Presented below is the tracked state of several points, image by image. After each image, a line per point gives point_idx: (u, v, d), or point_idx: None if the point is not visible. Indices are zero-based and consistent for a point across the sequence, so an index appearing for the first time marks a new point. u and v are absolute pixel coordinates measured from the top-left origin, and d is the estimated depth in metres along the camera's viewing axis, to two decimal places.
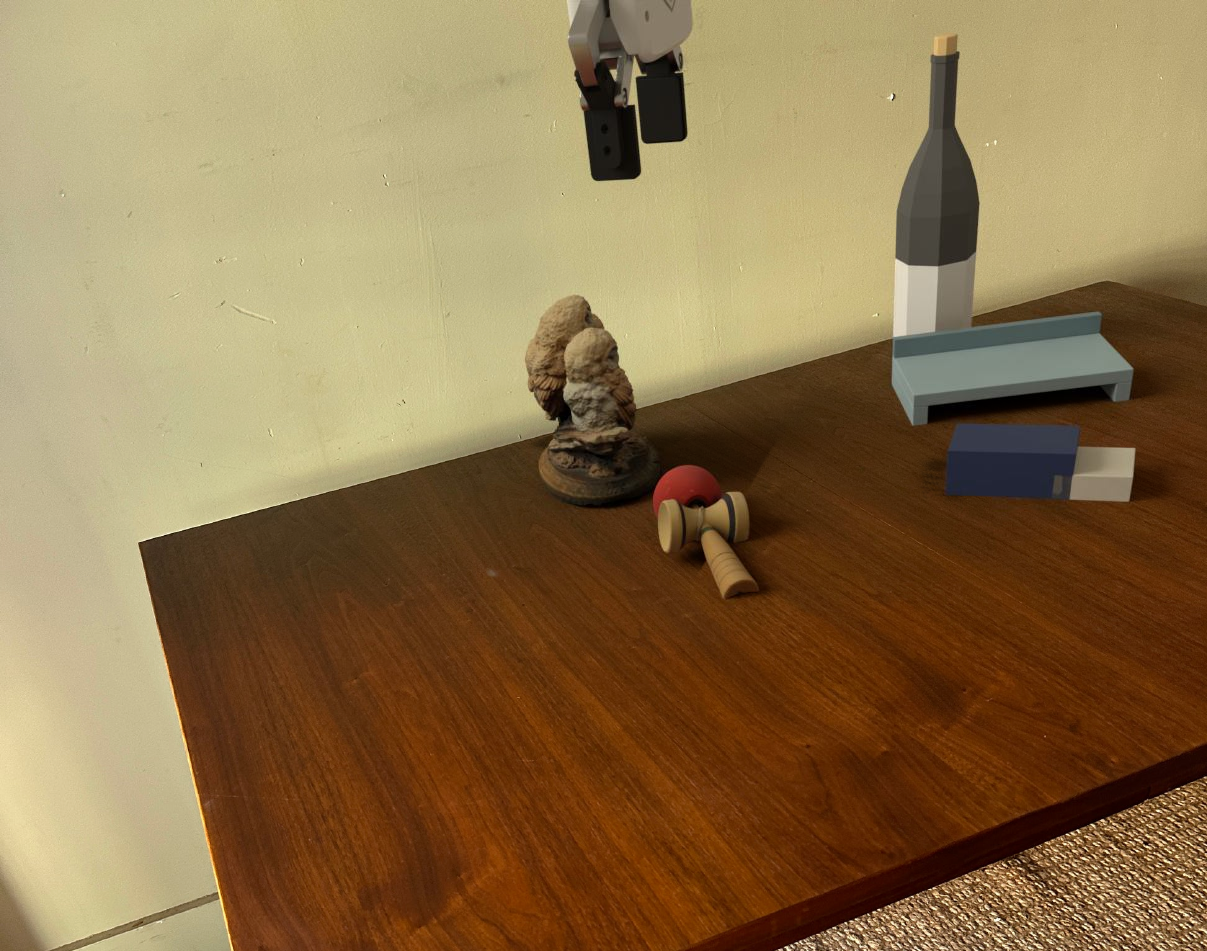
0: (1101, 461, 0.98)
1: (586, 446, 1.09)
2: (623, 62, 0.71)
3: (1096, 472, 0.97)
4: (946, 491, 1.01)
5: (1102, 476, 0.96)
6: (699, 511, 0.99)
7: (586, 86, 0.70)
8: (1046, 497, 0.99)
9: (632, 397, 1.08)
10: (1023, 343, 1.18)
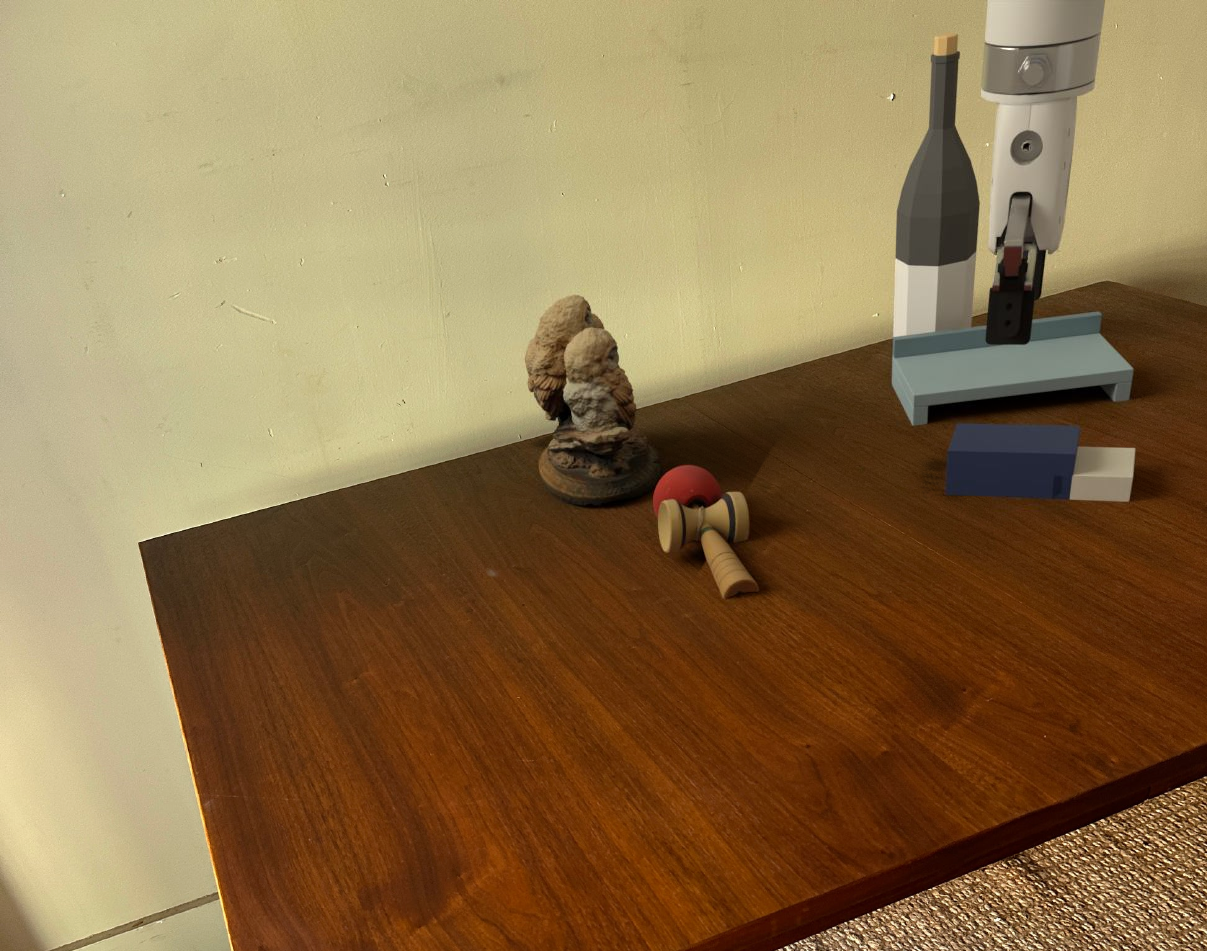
0: (1101, 461, 0.98)
1: (586, 446, 1.09)
2: (1033, 255, 0.86)
3: (1096, 472, 0.97)
4: (946, 491, 1.01)
5: (1102, 476, 0.96)
6: (699, 511, 0.99)
7: (1006, 276, 0.85)
8: (1046, 497, 0.99)
9: (632, 397, 1.08)
10: None
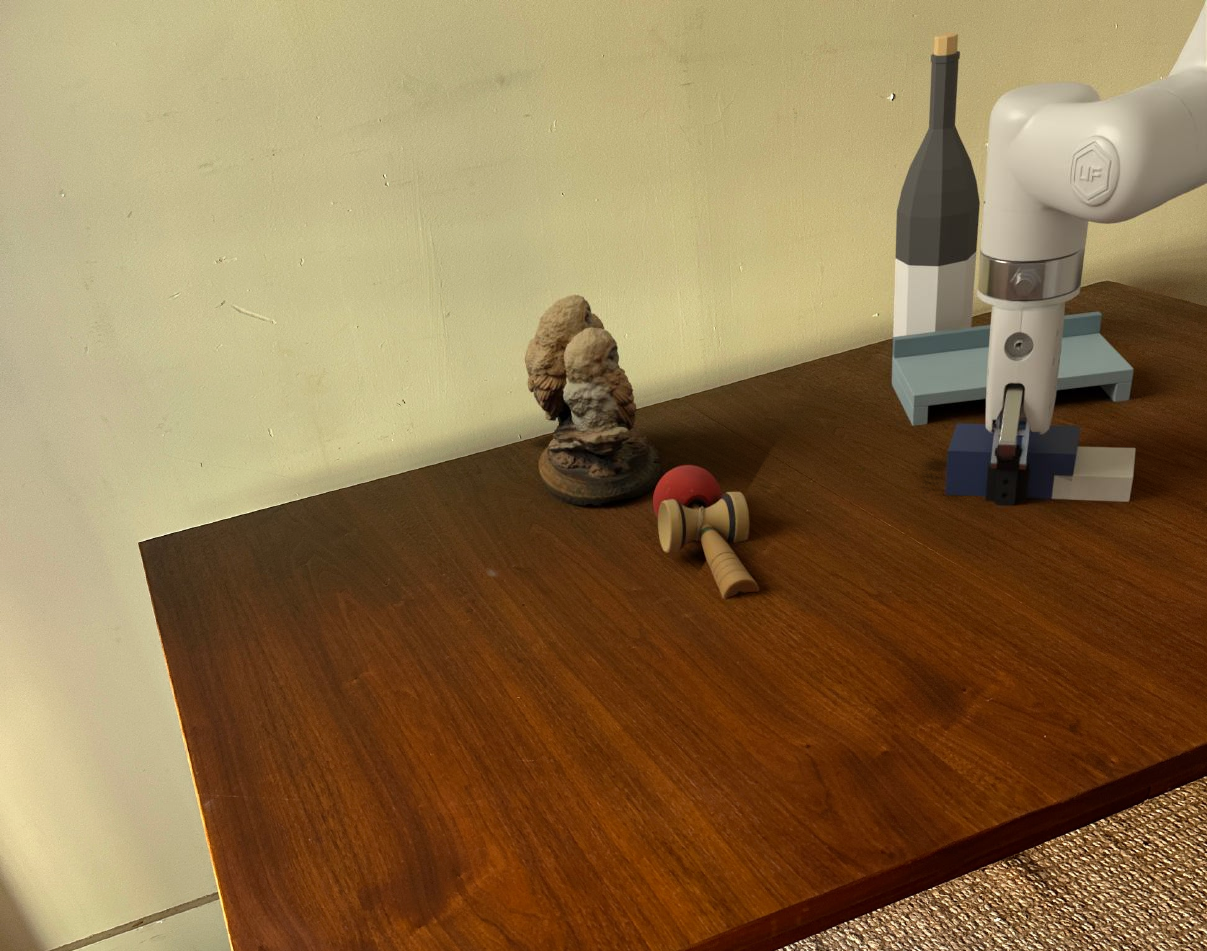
0: (1101, 461, 0.98)
1: (586, 446, 1.09)
2: (1026, 441, 0.95)
3: (1096, 472, 0.97)
4: (946, 491, 1.01)
5: (1102, 476, 0.96)
6: (699, 511, 0.99)
7: (1003, 459, 0.95)
8: (1046, 497, 0.99)
9: (632, 397, 1.08)
10: None
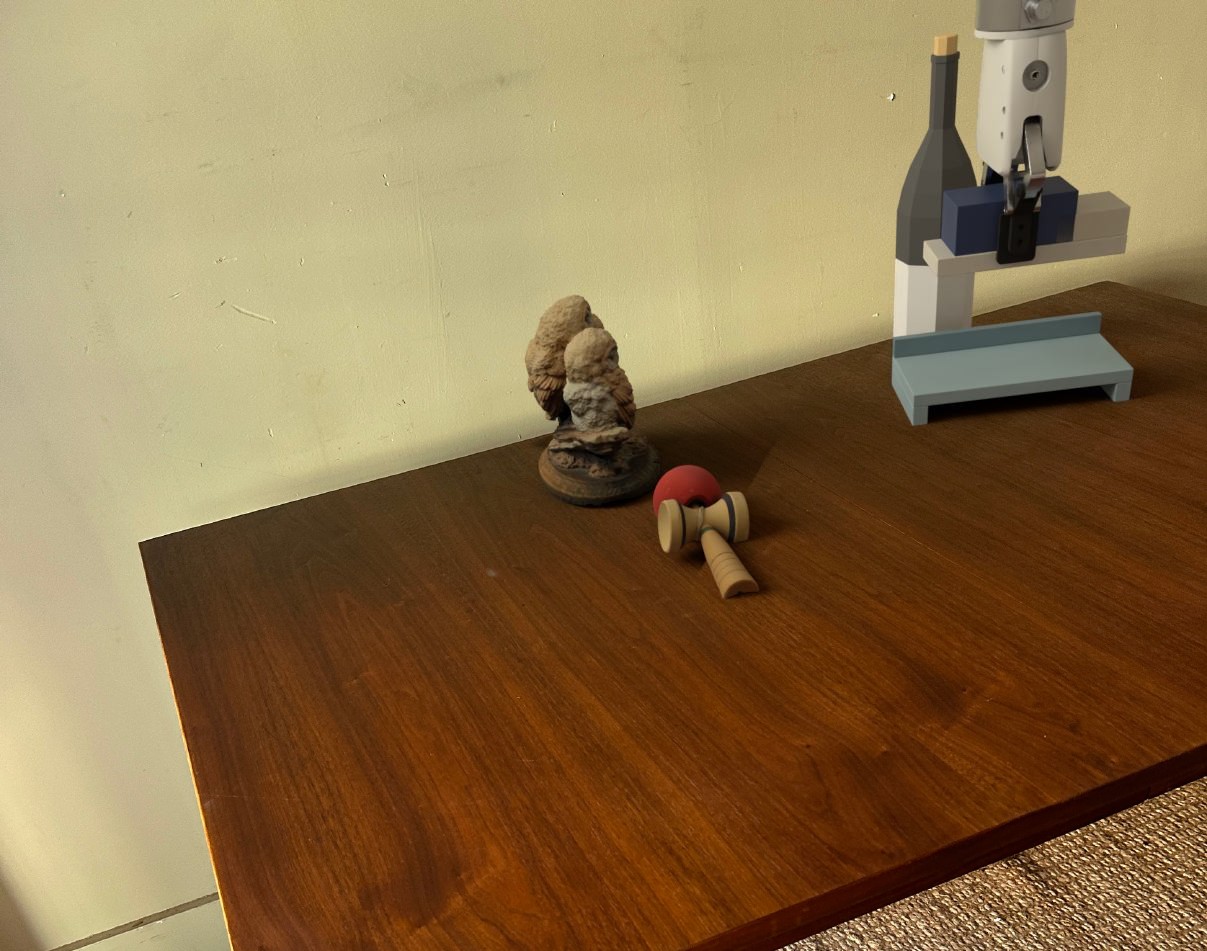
0: (1090, 202, 1.03)
1: (586, 446, 1.09)
2: None
3: (1094, 209, 1.01)
4: (956, 252, 1.03)
5: (1102, 210, 1.01)
6: (699, 511, 0.99)
7: (1024, 199, 0.98)
8: (1051, 242, 1.02)
9: (632, 397, 1.08)
10: (1023, 343, 1.18)
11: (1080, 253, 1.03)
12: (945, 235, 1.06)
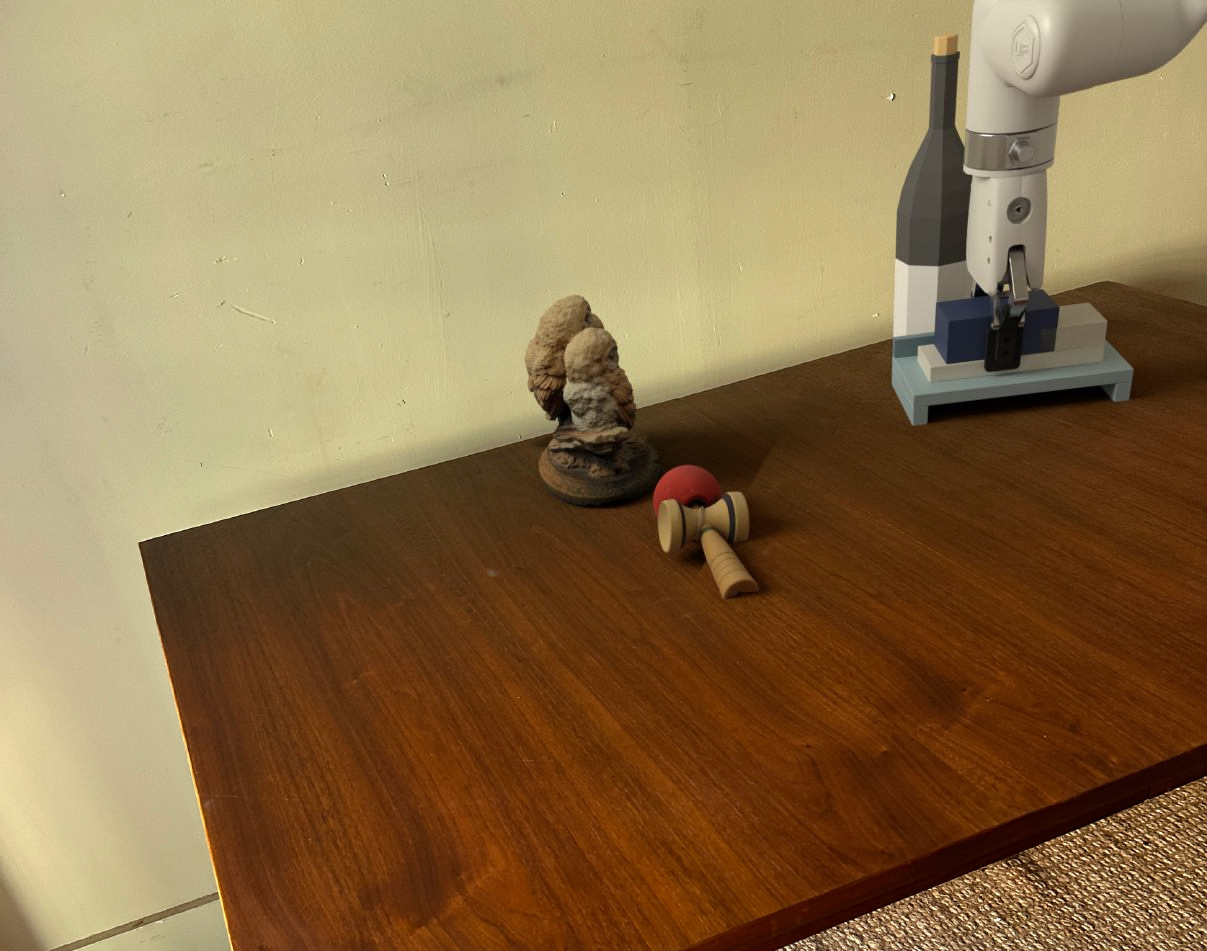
0: (1071, 314, 1.12)
1: (586, 446, 1.09)
2: None
3: (1074, 322, 1.10)
4: (947, 360, 1.12)
5: (1081, 324, 1.10)
6: (699, 511, 0.99)
7: (1009, 317, 1.07)
8: (1034, 351, 1.11)
9: (632, 397, 1.08)
10: None
11: (1061, 361, 1.12)
12: (937, 342, 1.15)
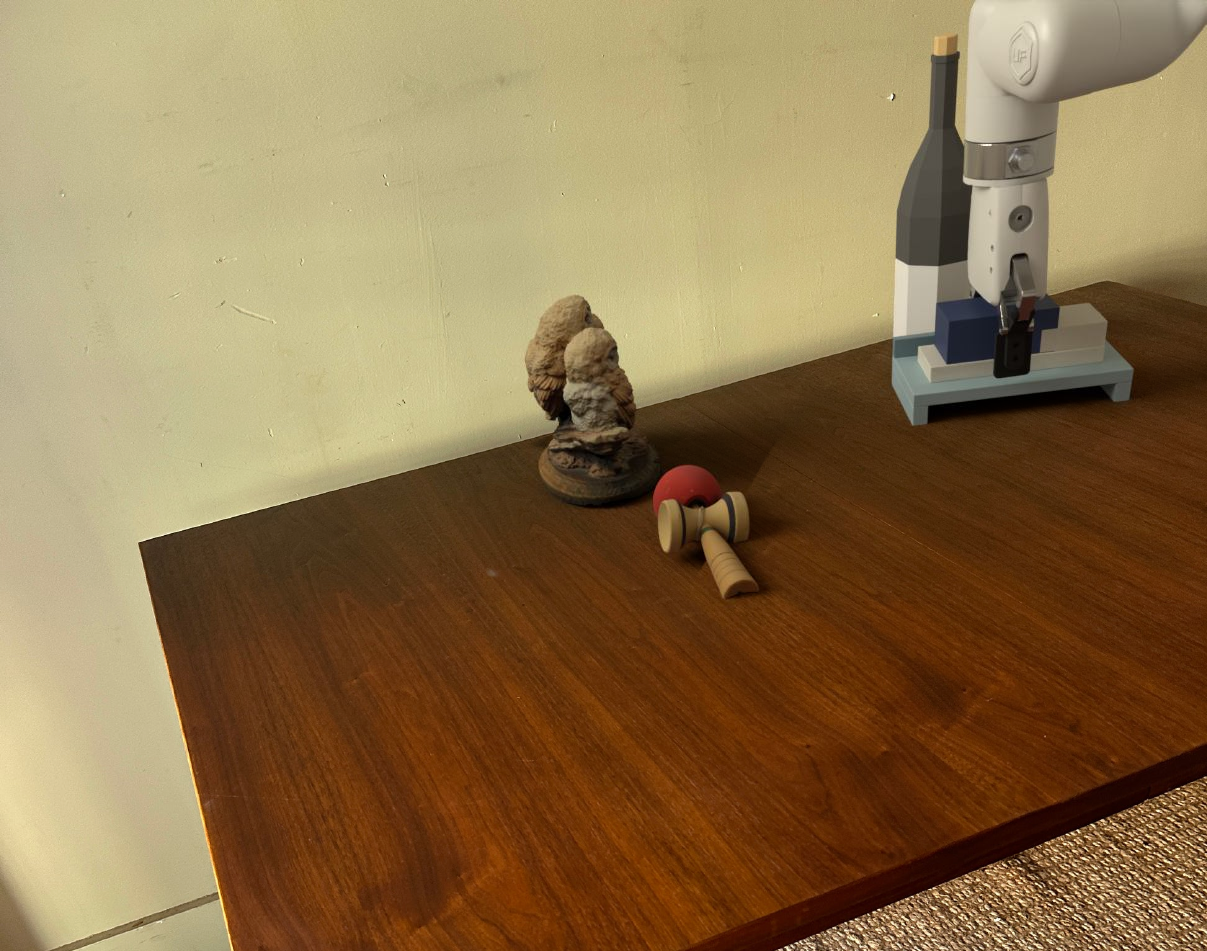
0: (1071, 315, 1.12)
1: (586, 446, 1.09)
2: None
3: (1075, 323, 1.10)
4: (947, 360, 1.12)
5: (1082, 324, 1.10)
6: (699, 511, 0.99)
7: (1018, 321, 1.04)
8: (1035, 352, 1.11)
9: (632, 397, 1.08)
10: None
11: (1061, 362, 1.12)
12: (938, 343, 1.15)
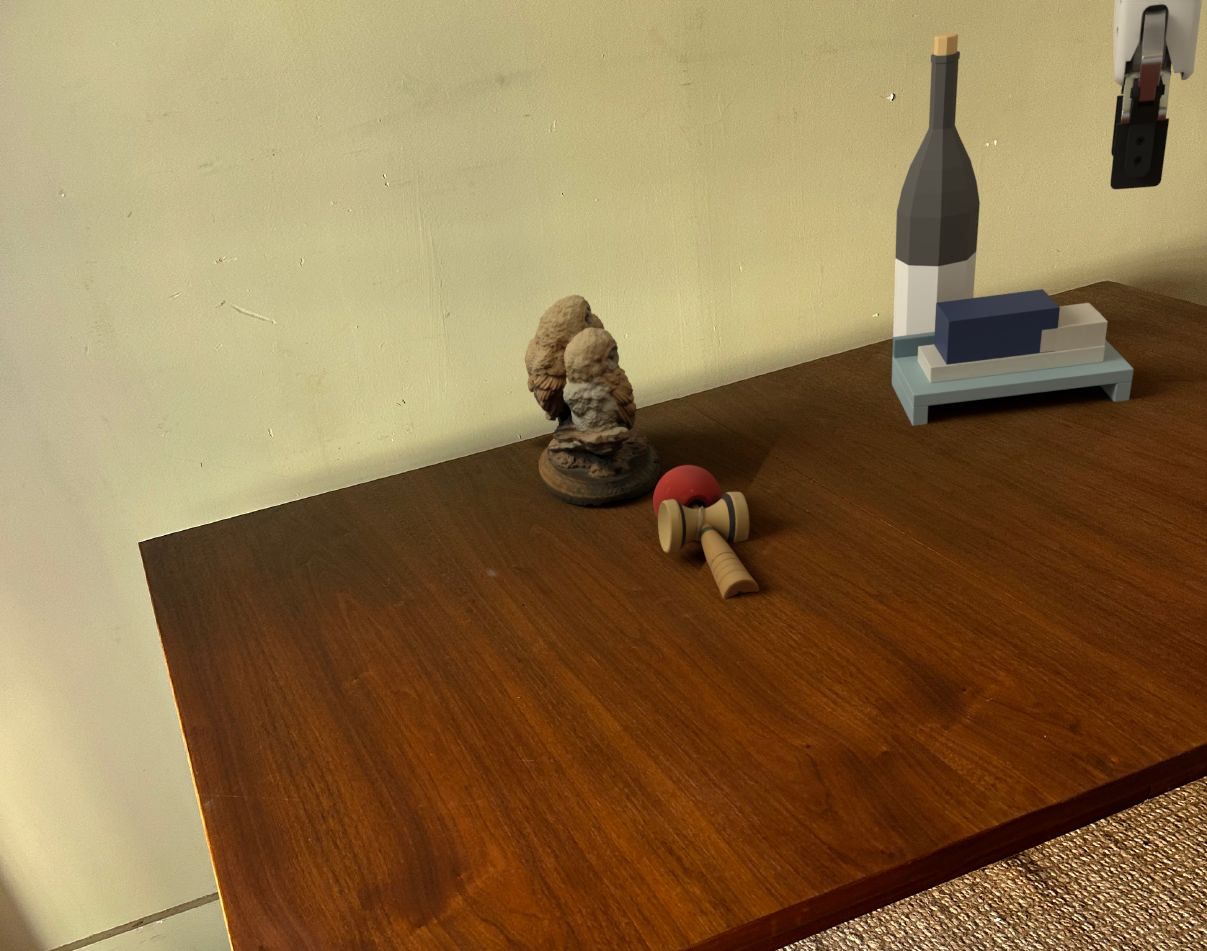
0: (1071, 315, 1.12)
1: (586, 446, 1.09)
2: (1167, 80, 0.78)
3: (1075, 322, 1.10)
4: (947, 360, 1.12)
5: (1082, 324, 1.10)
6: (699, 511, 0.99)
7: (1140, 102, 0.77)
8: (1035, 352, 1.11)
9: (632, 397, 1.08)
10: None
11: (1061, 362, 1.12)
12: (938, 343, 1.15)
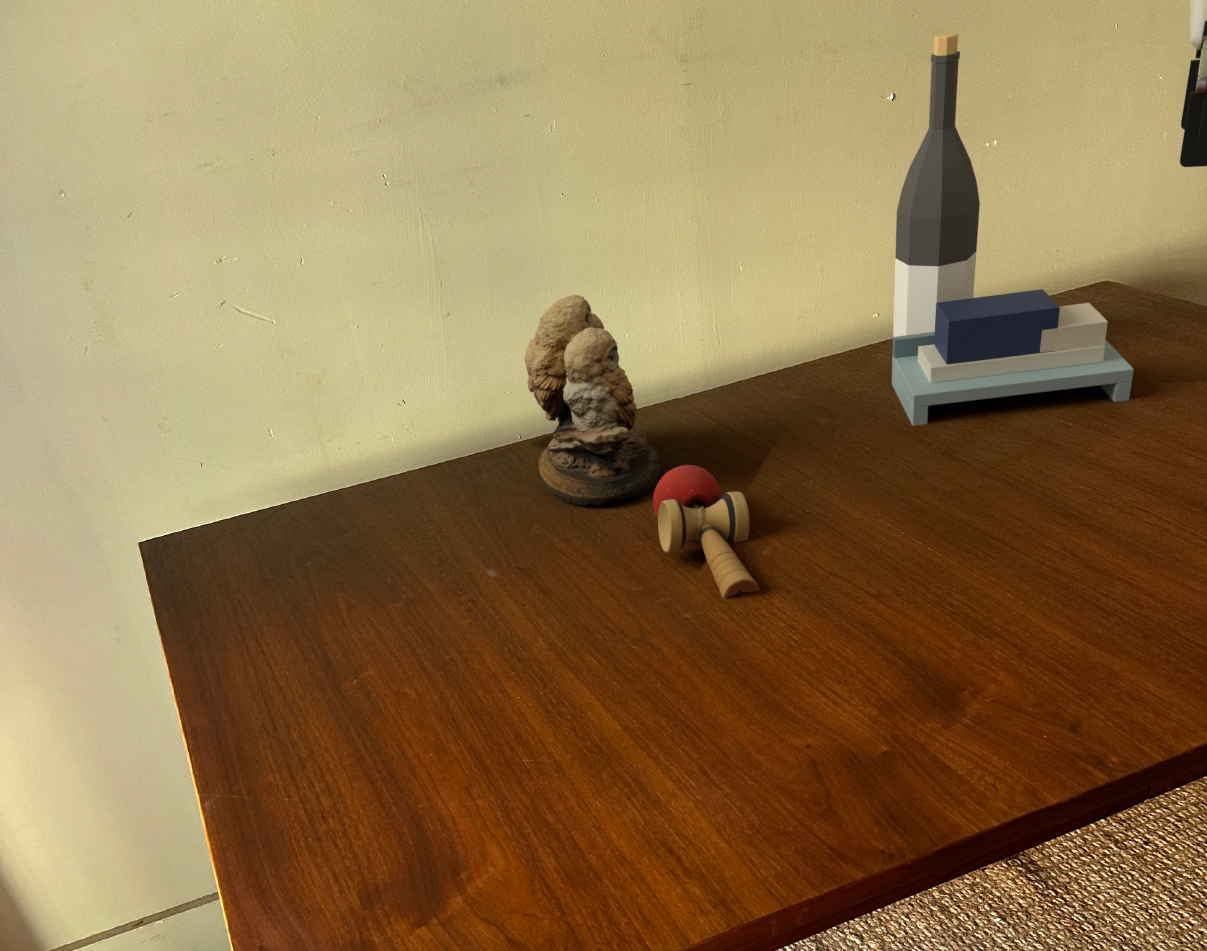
0: (1071, 315, 1.12)
1: (586, 446, 1.09)
2: None
3: (1075, 322, 1.10)
4: (947, 360, 1.12)
5: (1082, 324, 1.10)
6: (699, 511, 0.99)
7: None
8: (1035, 352, 1.11)
9: (632, 397, 1.08)
10: None
11: (1061, 362, 1.12)
12: (938, 343, 1.15)
